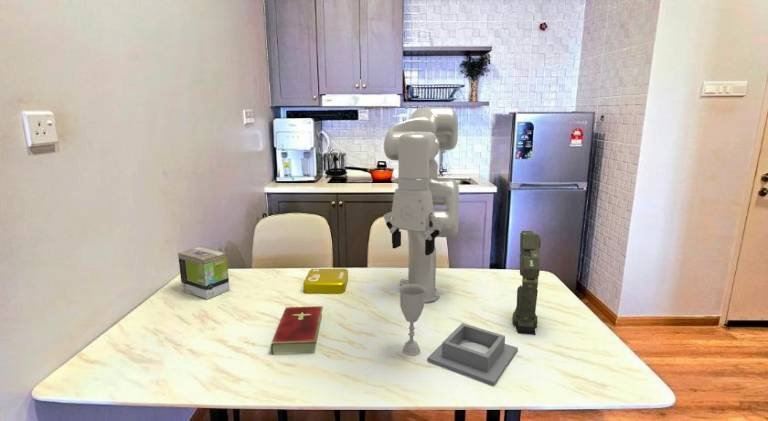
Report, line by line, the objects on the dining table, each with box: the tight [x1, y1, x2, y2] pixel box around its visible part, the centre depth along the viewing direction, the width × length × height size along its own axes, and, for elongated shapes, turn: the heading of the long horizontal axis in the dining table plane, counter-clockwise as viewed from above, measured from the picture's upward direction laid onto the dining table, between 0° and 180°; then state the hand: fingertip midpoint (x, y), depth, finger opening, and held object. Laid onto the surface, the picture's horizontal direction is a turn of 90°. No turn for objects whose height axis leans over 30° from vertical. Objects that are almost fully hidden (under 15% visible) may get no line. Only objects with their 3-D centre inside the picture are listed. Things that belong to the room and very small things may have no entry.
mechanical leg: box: [512, 230, 542, 336], centre depth 125 cm, size 14×7×30 cm, turn 168°
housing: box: [426, 322, 519, 387], centre depth 110 cm, size 18×18×5 cm
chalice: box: [397, 284, 426, 357], centre depth 111 cm, size 7×7×18 cm
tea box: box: [177, 246, 230, 300], centre depth 151 cm, size 15×10×15 cm, turn 58°
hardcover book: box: [270, 305, 324, 356], centre depth 122 cm, size 12×21×4 cm, turn 3°
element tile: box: [303, 268, 349, 295], centre depth 156 cm, size 15×15×5 cm
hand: (412, 250), depth 107 cm, fingers open, 9 cm apart
